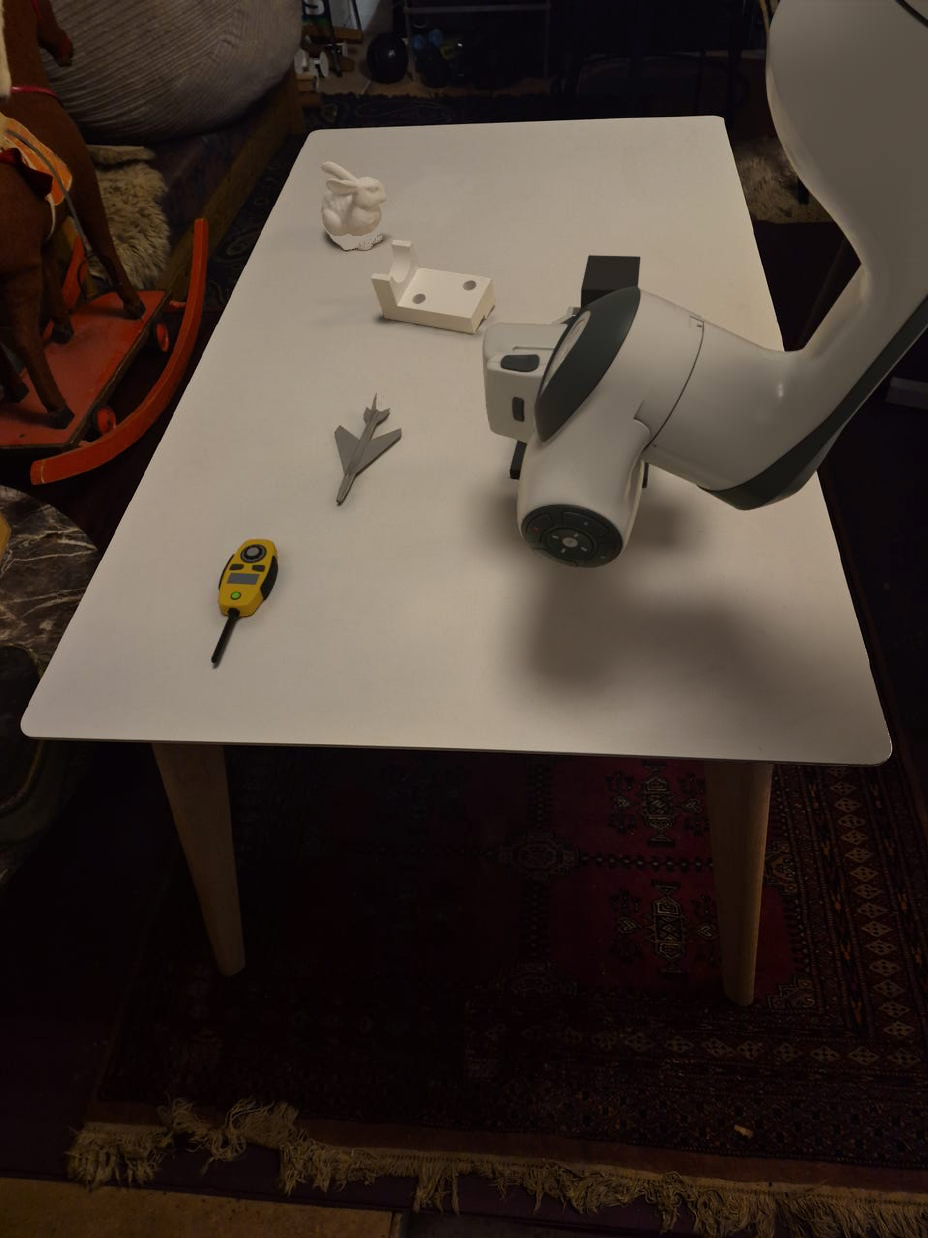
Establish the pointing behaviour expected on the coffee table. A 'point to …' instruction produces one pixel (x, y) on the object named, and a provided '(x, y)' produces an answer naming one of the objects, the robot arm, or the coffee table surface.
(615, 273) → the pad block
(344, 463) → the toy airplane
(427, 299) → the bracket
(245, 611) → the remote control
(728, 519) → the coffee table surface
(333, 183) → the rabbit
